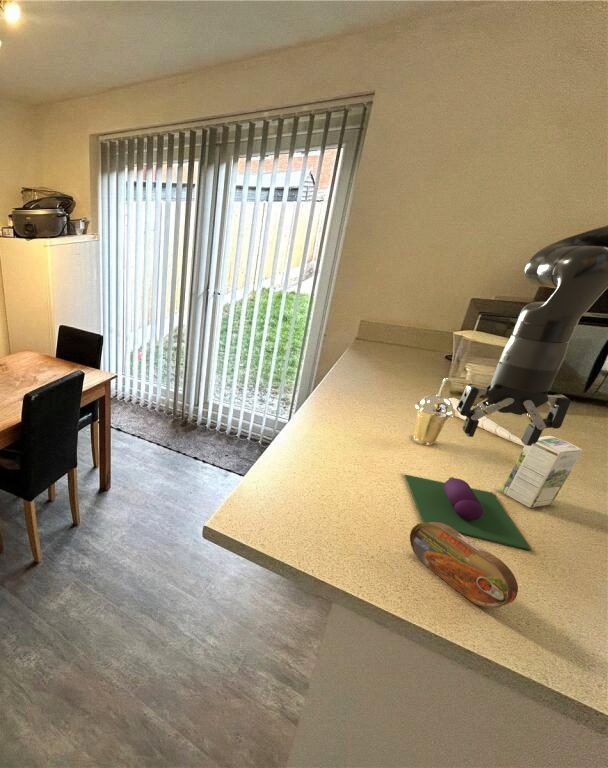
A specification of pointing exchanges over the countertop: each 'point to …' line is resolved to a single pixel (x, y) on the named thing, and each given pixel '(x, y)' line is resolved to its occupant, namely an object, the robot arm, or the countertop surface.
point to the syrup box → (541, 471)
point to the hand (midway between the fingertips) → (496, 439)
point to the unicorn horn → (488, 425)
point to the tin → (464, 565)
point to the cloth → (440, 510)
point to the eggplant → (463, 499)
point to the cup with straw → (433, 415)
